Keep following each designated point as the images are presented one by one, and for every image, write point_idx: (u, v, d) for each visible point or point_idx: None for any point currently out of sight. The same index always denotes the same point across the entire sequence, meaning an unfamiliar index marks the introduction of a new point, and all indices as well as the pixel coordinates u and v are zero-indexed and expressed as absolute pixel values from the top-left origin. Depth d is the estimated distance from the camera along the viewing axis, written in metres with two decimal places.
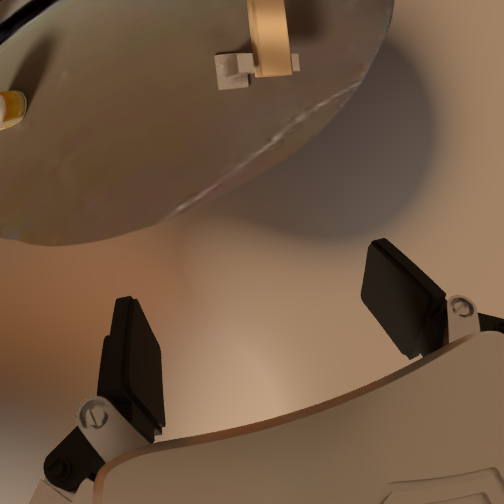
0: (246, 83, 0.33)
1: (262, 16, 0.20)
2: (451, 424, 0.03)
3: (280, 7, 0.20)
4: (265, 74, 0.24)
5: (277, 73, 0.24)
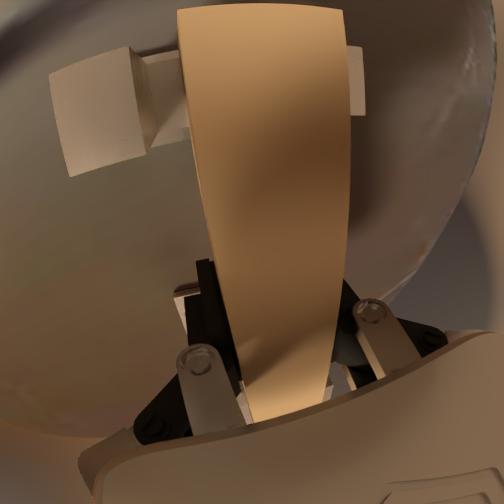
0: None
1: (264, 401, 0.09)
2: (451, 424, 0.03)
3: (318, 370, 0.09)
4: None
5: None
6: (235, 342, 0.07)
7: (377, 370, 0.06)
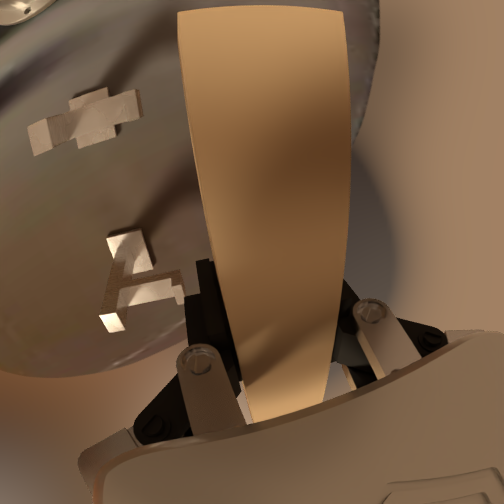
0: (150, 265, 0.31)
1: (264, 402, 0.09)
2: (451, 424, 0.03)
3: (318, 371, 0.09)
4: None
5: None
6: (235, 343, 0.07)
7: (377, 370, 0.06)
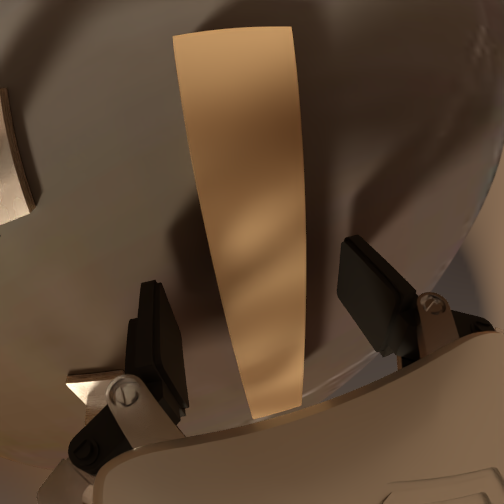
0: None
1: (249, 354, 0.11)
2: (451, 424, 0.03)
3: (295, 324, 0.11)
4: (256, 417, 0.15)
5: (276, 411, 0.15)
6: (219, 287, 0.09)
7: None
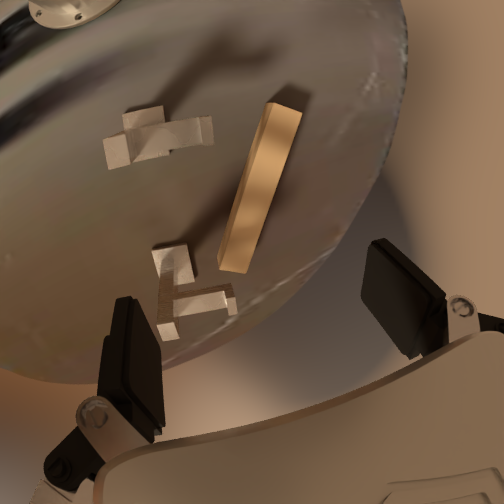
0: (192, 278, 0.33)
1: (242, 214, 0.29)
2: (451, 424, 0.03)
3: (264, 208, 0.29)
4: (222, 268, 0.31)
5: (233, 270, 0.31)
6: (249, 176, 0.27)
7: None
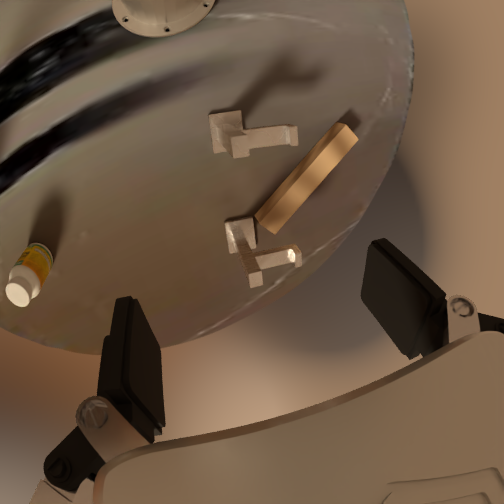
0: (254, 245, 0.43)
1: (294, 188, 0.37)
2: (451, 424, 0.03)
3: (309, 190, 0.38)
4: (261, 223, 0.39)
5: (267, 228, 0.39)
6: (310, 164, 0.36)
7: None
